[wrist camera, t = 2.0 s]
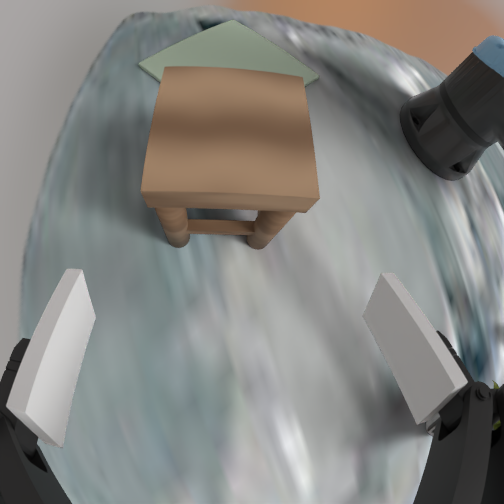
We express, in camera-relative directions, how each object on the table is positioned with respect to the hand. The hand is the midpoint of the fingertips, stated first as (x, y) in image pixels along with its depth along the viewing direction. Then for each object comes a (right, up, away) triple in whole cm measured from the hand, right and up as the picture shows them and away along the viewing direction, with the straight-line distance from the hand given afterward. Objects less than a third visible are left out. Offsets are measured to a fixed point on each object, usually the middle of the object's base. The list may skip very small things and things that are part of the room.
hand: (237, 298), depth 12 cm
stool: (-3, +7, +18) cm, 19 cm away
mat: (-2, +27, +22) cm, 35 cm away
